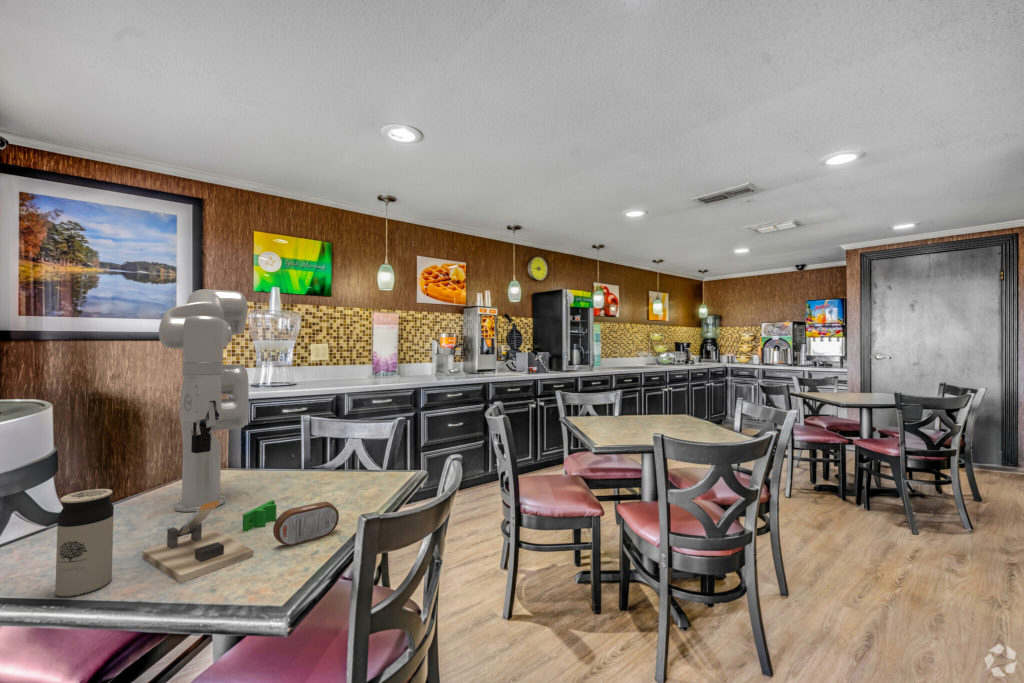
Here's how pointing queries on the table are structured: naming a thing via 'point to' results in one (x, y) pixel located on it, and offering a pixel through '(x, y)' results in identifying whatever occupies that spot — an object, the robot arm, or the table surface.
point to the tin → (305, 523)
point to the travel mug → (84, 542)
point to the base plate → (187, 554)
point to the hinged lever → (197, 518)
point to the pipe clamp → (260, 516)
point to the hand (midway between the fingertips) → (201, 451)
